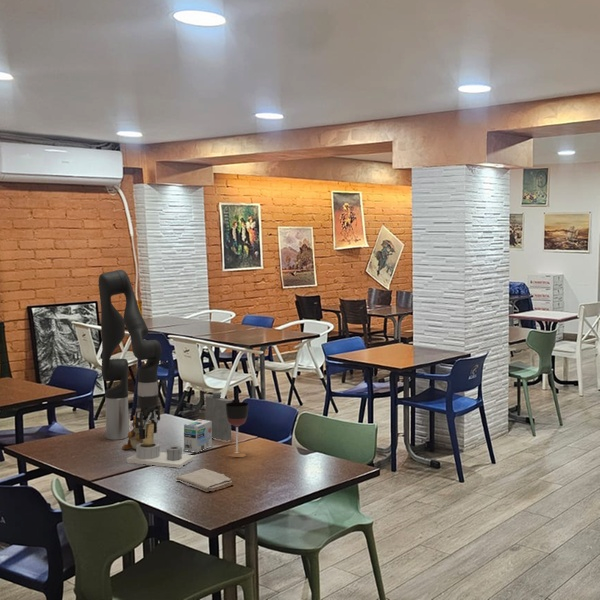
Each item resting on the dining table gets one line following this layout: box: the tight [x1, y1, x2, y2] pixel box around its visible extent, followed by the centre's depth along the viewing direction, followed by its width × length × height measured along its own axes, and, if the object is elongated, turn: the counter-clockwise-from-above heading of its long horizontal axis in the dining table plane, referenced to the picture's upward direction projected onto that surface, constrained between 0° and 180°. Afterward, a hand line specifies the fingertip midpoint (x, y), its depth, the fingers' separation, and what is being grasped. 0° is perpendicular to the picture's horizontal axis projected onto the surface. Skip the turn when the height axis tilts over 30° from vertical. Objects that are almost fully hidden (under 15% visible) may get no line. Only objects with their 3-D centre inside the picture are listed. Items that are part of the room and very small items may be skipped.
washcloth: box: [176, 468, 234, 490], centre depth 234 cm, size 12×18×3 cm, turn 48°
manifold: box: [126, 441, 196, 467], centre depth 258 cm, size 22×12×6 cm, turn 72°
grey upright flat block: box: [205, 391, 232, 441], centre depth 289 cm, size 16×4×20 cm, turn 43°
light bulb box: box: [183, 418, 213, 453], centre depth 274 cm, size 11×7×11 cm, turn 154°
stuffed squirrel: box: [121, 414, 158, 451], centre depth 277 cm, size 10×14×13 cm
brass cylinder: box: [143, 423, 155, 447], centre depth 260 cm, size 4×4×12 cm
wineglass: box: [226, 401, 249, 453], centre depth 266 cm, size 8×9×20 cm
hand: (148, 435), depth 259 cm, fingers open, 8 cm apart
